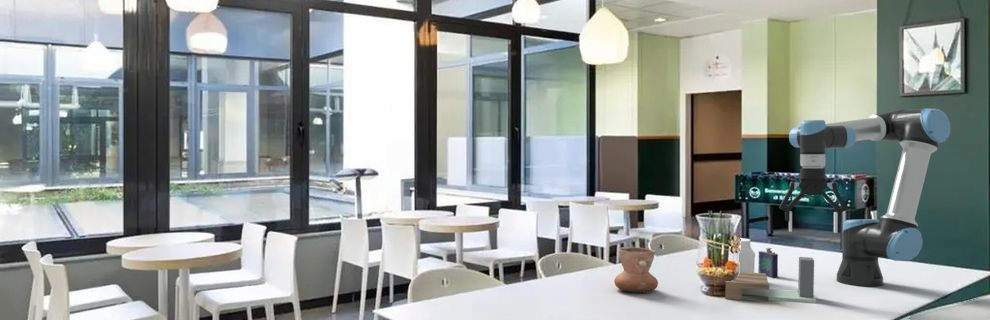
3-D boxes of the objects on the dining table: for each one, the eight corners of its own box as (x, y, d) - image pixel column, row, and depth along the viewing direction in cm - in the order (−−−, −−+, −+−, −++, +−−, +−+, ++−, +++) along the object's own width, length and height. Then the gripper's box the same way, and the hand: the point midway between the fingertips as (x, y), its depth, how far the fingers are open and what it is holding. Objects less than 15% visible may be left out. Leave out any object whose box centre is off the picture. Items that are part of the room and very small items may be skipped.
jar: (730, 283, 253) (731, 241, 253) (716, 278, 262) (717, 237, 262) (759, 282, 256) (760, 240, 255) (744, 277, 265) (745, 237, 265)
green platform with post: (741, 290, 242) (742, 252, 242) (811, 295, 235) (812, 256, 235) (742, 298, 230) (743, 258, 230) (816, 304, 223) (817, 262, 223)
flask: (756, 274, 272) (757, 246, 271) (762, 273, 273) (763, 245, 272) (773, 278, 263) (774, 249, 263) (780, 278, 264) (780, 249, 264)
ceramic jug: (664, 296, 230) (665, 253, 230) (620, 296, 230) (621, 252, 230) (649, 286, 248) (650, 245, 248) (608, 285, 248) (609, 245, 248)
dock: (725, 286, 247) (726, 270, 247) (765, 289, 243) (766, 273, 243) (725, 298, 228) (725, 281, 228) (768, 301, 224) (768, 284, 224)
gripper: (772, 167, 231) (772, 232, 232) (857, 167, 223) (857, 234, 224) (771, 166, 238) (771, 229, 239) (853, 166, 230) (853, 231, 231)
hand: (812, 232), depth 232 cm, fingers open, 13 cm apart
